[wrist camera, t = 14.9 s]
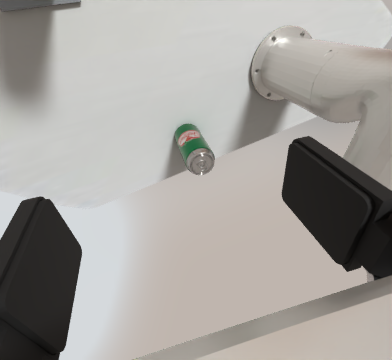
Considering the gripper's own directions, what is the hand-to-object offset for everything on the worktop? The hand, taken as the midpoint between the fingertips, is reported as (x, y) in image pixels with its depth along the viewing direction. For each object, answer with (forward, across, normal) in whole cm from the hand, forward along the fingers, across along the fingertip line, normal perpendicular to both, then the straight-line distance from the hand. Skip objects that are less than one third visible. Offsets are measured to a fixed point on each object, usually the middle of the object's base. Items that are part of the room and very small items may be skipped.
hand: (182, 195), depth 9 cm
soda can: (+36, -6, +15) cm, 40 cm away
